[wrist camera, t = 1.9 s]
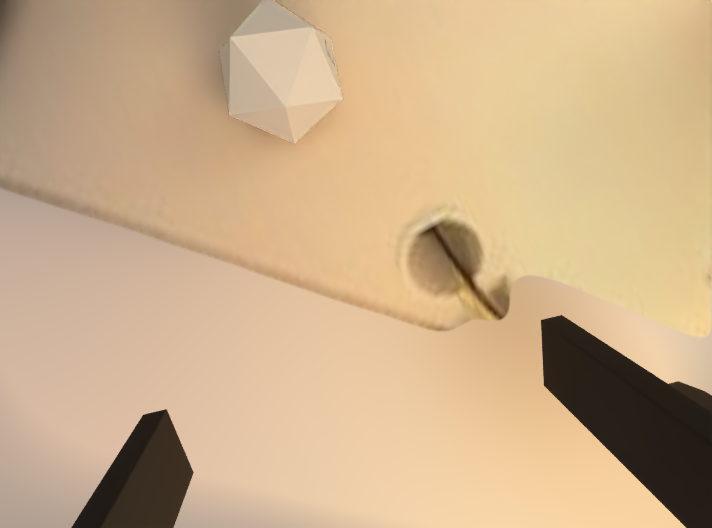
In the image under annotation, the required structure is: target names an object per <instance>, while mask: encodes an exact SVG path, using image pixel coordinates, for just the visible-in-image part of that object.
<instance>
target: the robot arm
mask: <svg viewBox="0 0 712 528" xmlns="http://www.w3.org/2000/svg"><path fill="white" fill-rule="evenodd" d="M541 329H542V351H543V372H544V373H543V374H544V386H545V387H546V388H547V389H548V390H549V391H550V392H551V393H552V394H553V395H554V396H555V397H556V398H557V399H558V400H559V401H560V402H561V403H562V404H563V405H564V406H565V407H566V408H567V409H568V410H569V411H570V412H571V413H572V414H573V415H574V416H575V417H576V418H577V419H578V420H579V421H580V422H581V423H582V424H583V425H584V426H585V427H586V428H587V429H588V430H589V431H590V432H591V433H592V434H593V435H594V436H595V437H596V438H597V439H598V440H599V441H600V442H601V443H602V444H603V445H604V446H605V447H606V448H607V449H608V450H609V451H610V452H611V453H612V454H613V455H614V456H615V457H616V458H617V459H618V460H619V461H620V462H621V463H622V464H623V465H624V466H625V467H626V468H627V469H628V470H629V471H630V472H631V473H632V474H633V475H634V476H635V477H636V478H637V479H638V480H639V481H640V482H641V483H642V484H643V485H644V486H645V487H646V488H647V489H648V490H649V491H650V492H651V493H652V494H653V495H654V496H655V497H656V498H657V499H658V500H659V501H660V502H661V503H662V504H663V505H664V506H665V507H666V508H667V509H668V510H669V511H670V512H671V513H672V514H673V515H674V516H675V517H676V518H677V519H678V520H679V521H680V522H681V523H682V524H683V525H684V526H685V527H686V528H712V396H711V395H710V394H708V393H707V392H705V391H702V390H700V389H697V388H694V387H692V386H689V385H686V384H684V383H681V382H674V383H671V384H667V383H666V382H664V381H662V380H661V379H659V378H658V377H656V376H655V375H653V374H652V373H650V372H648V371H647V370H645V369H644V368H642V367H641V366H639V365H638V364H636V363H635V362H633V361H631V360H630V359H628V358H627V357H625V356H624V355H622V354H621V353H619V352H618V351H616V350H614V349H613V348H611V347H610V346H608V345H607V344H605V343H604V342H602V341H601V340H599V339H598V338H596V337H595V336H593V335H591V334H590V333H588V332H587V331H585V330H584V329H582V328H581V327H579V326H578V325H576V324H575V323H573V322H571V321H570V320H568V319H567V318H565V317H564V316H562V315H561V316H556V317H552V318H548V319H544V320H541ZM192 475H193V470H192V468H191V466H190V463H189V461H188V459H187V456H186V454H185V451H184V449H183V447H182V444H181V442H180V440H179V437H178V435H177V433H176V430H175V428H174V426H173V424H172V421H171V419H170V416H169V414H168V412H167V410H162V411H157V412H153V413H149V414H145V415H143V416H142V418H141V419H140V421H139V422H138V424H137V426H136V427H135V429H134V430H133V432H132V433H131V435H130V437H129V438H128V440H127V441H126V443H125V444H124V446H123V448H122V449H121V451H120V452H119V454H118V455H117V457H116V459H115V460H114V462H113V463H112V465H111V467H110V468H109V470H108V471H107V473H106V474H105V476H104V477H103V479H102V480H101V483H100V484H99V485H98V487H97V488H96V490H95V492H94V493H93V495H92V496H91V498H90V499H89V501H88V502H87V504H86V506H85V507H84V509H83V510H82V512H81V513H80V515H79V517H78V518H77V520H76V521H75V523H74V525H73V526H72V528H173V527H174V525H175V521H176V519H177V516H178V513H179V511H180V508H181V505H182V502H183V500H184V497H185V494H186V492H187V489H188V486H189V483H190V481H191V478H192Z"/></svg>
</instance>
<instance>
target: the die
mask: <svg viewBox="0 0 712 528" xmlns="http://www.w3.org/2000/svg"><path fill="white" fill-rule="evenodd" d="M219 52H220V58H221V65H222V71H223V78H224V84H225V91H226V98H227V104H228V111H229V116H232V117H234V118H236V119H238V120H241V121H243V122H245V123H248V124H250V125H252V126H254V127H257V128H259V129H261V130H264V131H266V132H268V133H270V134H273V135H275V136H277V137H279V138H282V139H284V140H286V141H289V142H291V143H293V144H295V143H296V142H297V141H298V140H299V139H300V138H301V137H302V136H304V135H305V134H306V133H307V132H308V131H309V130H310V129H311V128H312V127H313V126H314V125H315V124H317V123H318V122H319V121H320V120H321V119H322V118H323V117H324V116H325V115H326V114H327V113H329V112H330V111H331V110H332V109H333V108H334V107H335V106H336V105H337V104H338V103H339V102H340V101H342V100H343V96H342V91H341V86H340V81H339V76H338V71H337V66H336V61H335V56H334V51H333V46H332V41H331V37H330V36H328V35H326V34H325V33H323V32H322V31H320V30H319V29H317V28H316V27H314V26H312V25H311V24H309V23H308V22H306V21H305V20H303V19H301V18H300V17H298V16H297V15H295V14H294V13H292V12H290V11H289V10H287V9H286V8H284V7H283V6H281V5H279V4H278V3H276V2H275V1H273V0H262V1H261V2H260V4H259V5H258V6H257V7H256V8H255V9H254V10H253V12H252V13H251V14H250V15H249V16H248V17H247V19H246V20H245V21H244V22H243V23H242V24H241V25H240V27H239V28H238V29H237V30H236V31H235V32H234V33H233V35H232V36H231V37H230V38H229V40H228V41H227V42H226V44H225V45H224V46H223V48H222V49H221V50H220V51H219Z"/></svg>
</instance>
